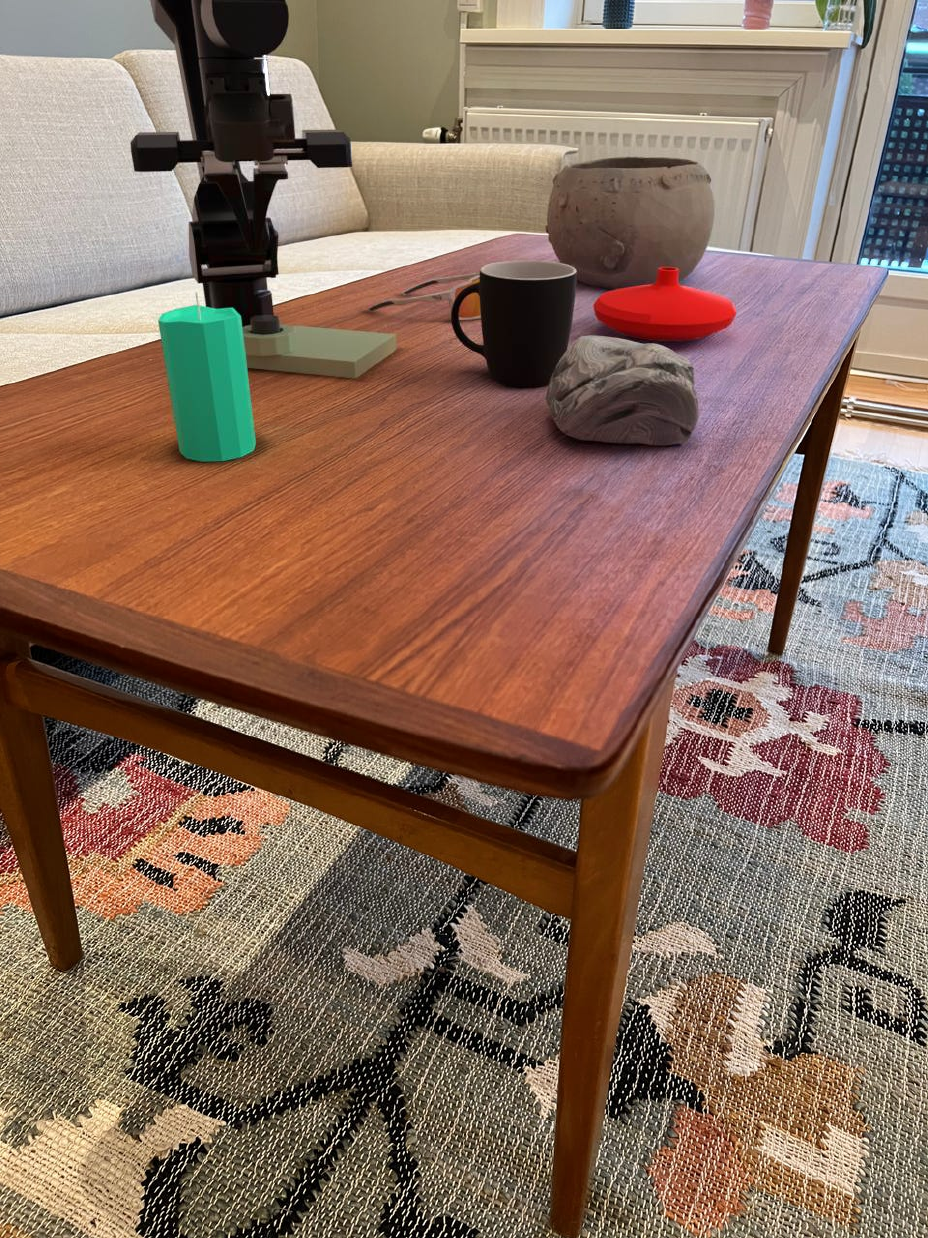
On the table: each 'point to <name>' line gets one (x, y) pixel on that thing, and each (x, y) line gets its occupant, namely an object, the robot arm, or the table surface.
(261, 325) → the button
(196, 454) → the candle
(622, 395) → the decorative stone
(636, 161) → the bowl
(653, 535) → the table surface
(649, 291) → the red vase
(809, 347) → the table surface
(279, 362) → the khaki base plate
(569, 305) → the mug
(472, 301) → the sunglasses
